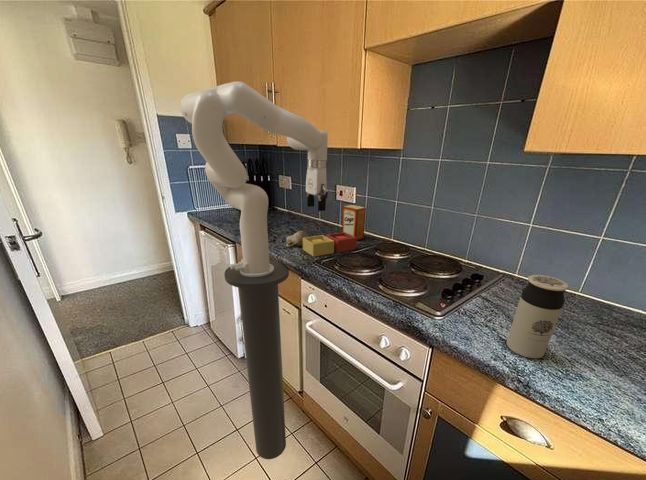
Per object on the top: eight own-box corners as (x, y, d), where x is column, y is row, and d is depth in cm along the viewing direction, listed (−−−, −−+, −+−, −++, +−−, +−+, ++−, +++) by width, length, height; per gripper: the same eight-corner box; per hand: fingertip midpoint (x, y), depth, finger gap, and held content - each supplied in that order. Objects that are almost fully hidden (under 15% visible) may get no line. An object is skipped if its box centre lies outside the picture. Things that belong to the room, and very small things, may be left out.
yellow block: (316, 252, 131) (316, 242, 129) (311, 249, 134) (311, 240, 132) (324, 251, 133) (324, 241, 131) (320, 248, 136) (320, 238, 134)
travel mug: (504, 335, 78) (524, 271, 70) (540, 343, 75) (564, 278, 68) (507, 353, 71) (530, 285, 64) (547, 363, 68) (575, 292, 61)
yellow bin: (313, 256, 127) (313, 244, 125) (302, 249, 135) (302, 237, 133) (333, 253, 132) (334, 241, 130) (322, 246, 140) (322, 235, 138)
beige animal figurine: (288, 241, 145) (299, 224, 142) (303, 253, 143) (314, 236, 140) (280, 242, 139) (291, 224, 135) (296, 254, 136) (307, 236, 133)
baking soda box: (341, 236, 156) (342, 205, 149) (350, 234, 160) (351, 204, 153) (355, 240, 150) (357, 208, 143) (363, 238, 154) (365, 207, 147)
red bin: (337, 252, 133) (337, 240, 131) (326, 245, 141) (326, 234, 139) (356, 249, 138) (357, 237, 136) (344, 243, 146) (344, 232, 144)
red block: (339, 248, 136) (339, 239, 135) (334, 245, 140) (334, 236, 138) (347, 247, 138) (348, 238, 137) (342, 244, 142) (342, 235, 140)
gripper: (299, 163, 123) (299, 205, 130) (319, 166, 110) (317, 213, 116) (315, 163, 127) (314, 204, 134) (336, 166, 114) (334, 211, 120)
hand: (316, 208), depth 125 cm, fingers open, 9 cm apart
